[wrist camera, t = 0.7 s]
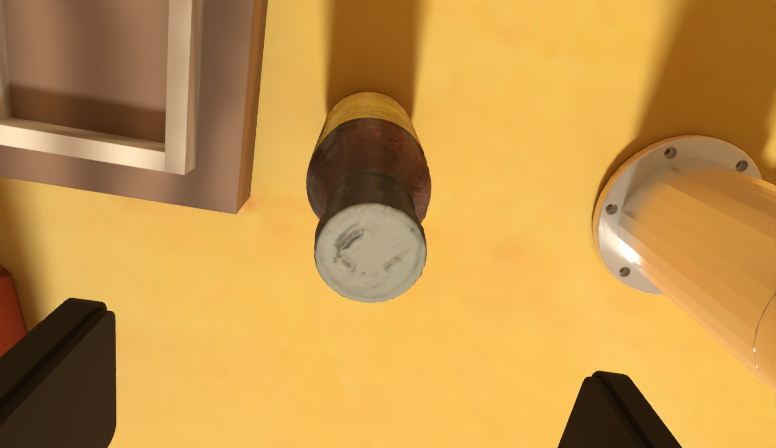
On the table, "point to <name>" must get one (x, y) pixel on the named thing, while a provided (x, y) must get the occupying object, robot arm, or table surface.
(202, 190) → the condiment stand
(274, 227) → the table surface
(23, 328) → the plant pot
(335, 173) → the sauce bottle
